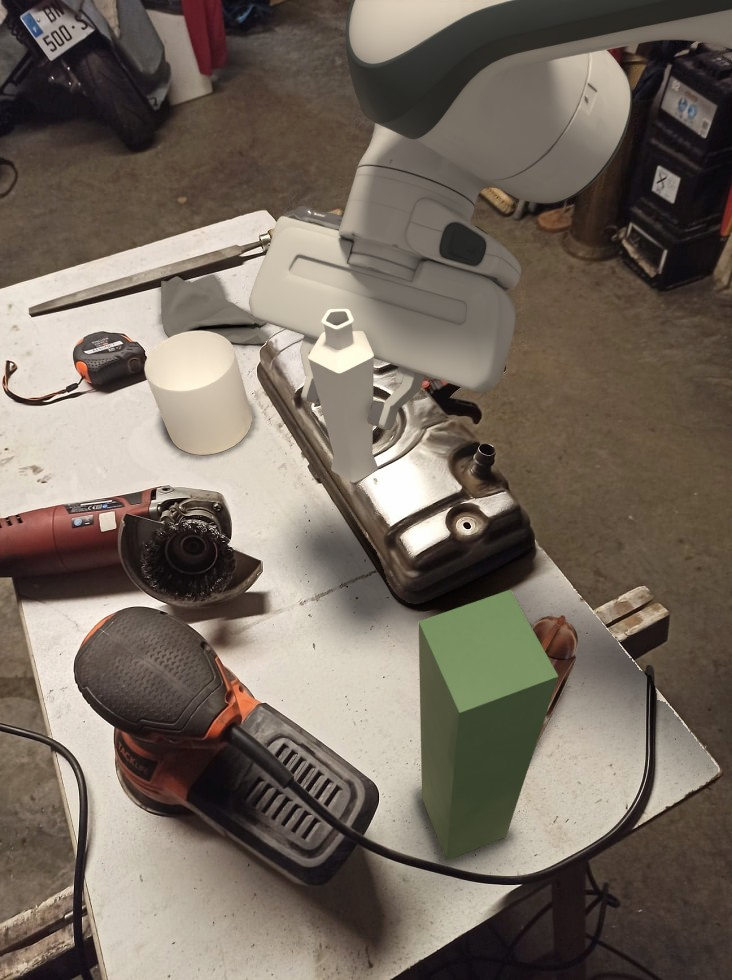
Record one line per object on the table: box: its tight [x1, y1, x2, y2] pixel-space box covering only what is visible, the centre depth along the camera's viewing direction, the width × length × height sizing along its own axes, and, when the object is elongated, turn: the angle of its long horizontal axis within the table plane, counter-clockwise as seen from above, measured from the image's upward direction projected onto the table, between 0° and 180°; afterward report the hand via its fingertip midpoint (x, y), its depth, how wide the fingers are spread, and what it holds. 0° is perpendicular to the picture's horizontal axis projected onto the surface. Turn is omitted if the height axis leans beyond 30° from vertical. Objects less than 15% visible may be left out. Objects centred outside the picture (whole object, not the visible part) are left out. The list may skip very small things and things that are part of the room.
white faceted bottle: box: [308, 309, 379, 484], centre depth 55 cm, size 5×4×15 cm
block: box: [418, 589, 558, 862], centre depth 56 cm, size 6×6×35 cm
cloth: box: [160, 274, 270, 345], centre depth 118 cm, size 26×14×2 cm, turn 36°
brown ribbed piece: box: [532, 614, 579, 740], centre depth 70 cm, size 11×5×15 cm, turn 147°
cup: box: [143, 331, 253, 456], centre depth 99 cm, size 12×12×12 cm
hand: (345, 414), depth 56 cm, fingers closed on white faceted bottle, 4 cm apart
